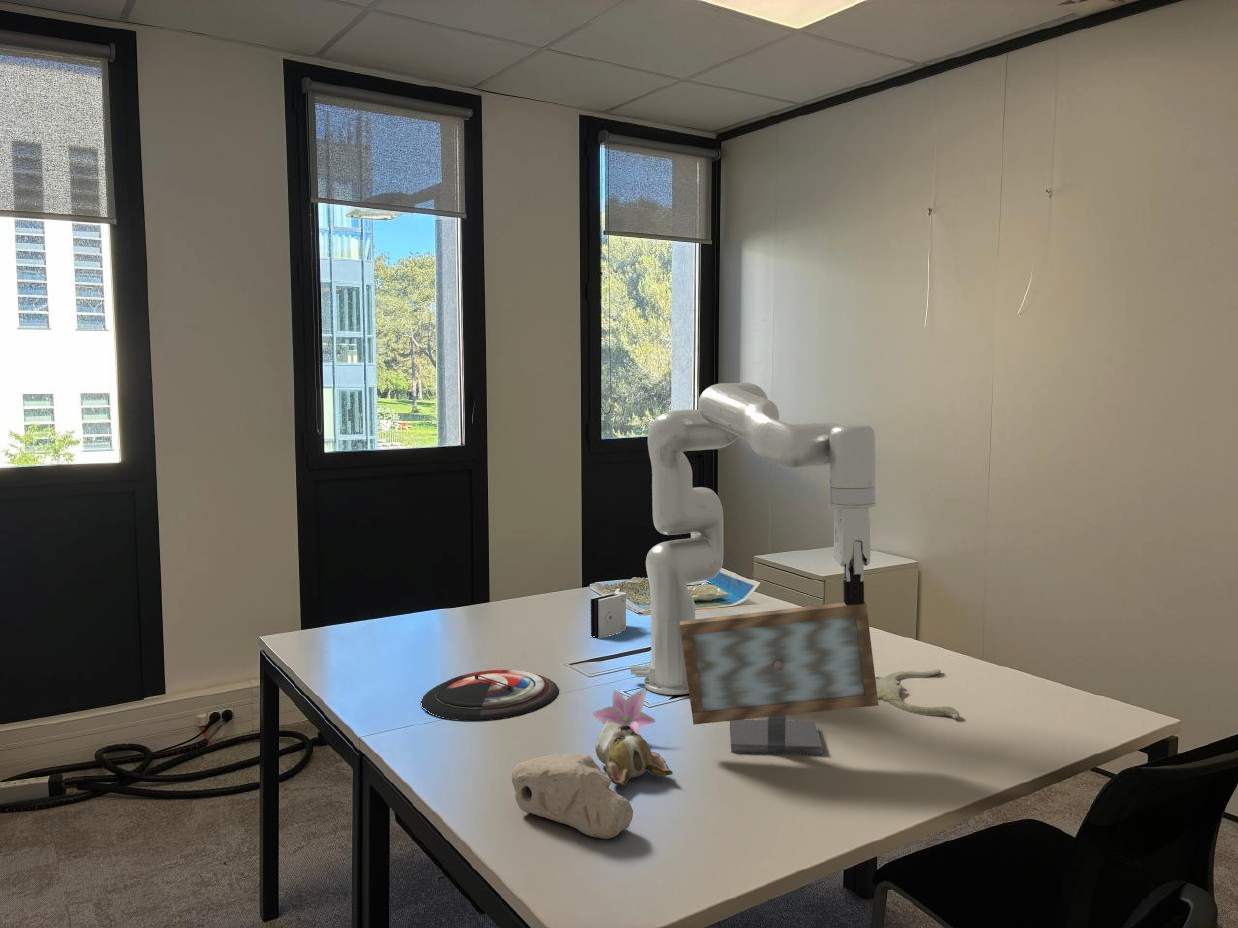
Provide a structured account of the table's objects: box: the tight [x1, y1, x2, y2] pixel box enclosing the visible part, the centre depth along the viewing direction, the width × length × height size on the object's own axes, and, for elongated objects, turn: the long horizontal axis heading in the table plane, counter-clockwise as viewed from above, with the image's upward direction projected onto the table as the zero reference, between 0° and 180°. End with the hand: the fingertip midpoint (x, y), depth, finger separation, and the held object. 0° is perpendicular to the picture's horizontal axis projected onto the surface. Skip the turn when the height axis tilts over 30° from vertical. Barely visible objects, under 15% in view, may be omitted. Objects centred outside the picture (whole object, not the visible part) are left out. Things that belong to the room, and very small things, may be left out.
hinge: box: [590, 588, 627, 639], centre depth 243 cm, size 14×5×10 cm, turn 147°
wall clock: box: [420, 669, 559, 721], centre depth 197 cm, size 27×5×30 cm
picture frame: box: [680, 600, 879, 725], centre depth 163 cm, size 32×3×18 cm, turn 84°
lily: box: [591, 688, 657, 735], centre depth 173 cm, size 11×11×9 cm
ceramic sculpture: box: [594, 719, 674, 787], centre depth 158 cm, size 11×9×15 cm
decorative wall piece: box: [875, 668, 960, 720], centre depth 198 cm, size 30×3×30 cm
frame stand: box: [729, 715, 823, 756], centre depth 171 cm, size 16×12×19 cm
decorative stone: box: [511, 752, 634, 840], centre depth 142 cm, size 20×8×10 cm, turn 55°
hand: (853, 603), depth 160 cm, fingers closed
